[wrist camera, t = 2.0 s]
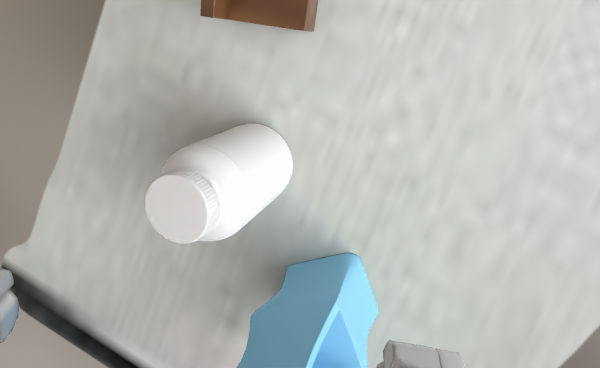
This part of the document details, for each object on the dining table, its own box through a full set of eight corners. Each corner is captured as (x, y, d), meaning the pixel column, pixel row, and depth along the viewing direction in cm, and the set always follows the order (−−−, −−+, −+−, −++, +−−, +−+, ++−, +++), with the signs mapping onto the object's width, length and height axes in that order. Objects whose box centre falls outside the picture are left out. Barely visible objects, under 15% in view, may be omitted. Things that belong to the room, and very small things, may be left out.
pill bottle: (218, 120, 46) (121, 152, 33) (294, 124, 44) (226, 160, 30) (221, 195, 49) (133, 255, 35) (294, 203, 46) (231, 270, 33)
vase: (382, 319, 47) (342, 495, 29) (312, 331, 50) (235, 497, 32) (357, 249, 46) (299, 387, 27) (287, 265, 49) (191, 400, 30)
